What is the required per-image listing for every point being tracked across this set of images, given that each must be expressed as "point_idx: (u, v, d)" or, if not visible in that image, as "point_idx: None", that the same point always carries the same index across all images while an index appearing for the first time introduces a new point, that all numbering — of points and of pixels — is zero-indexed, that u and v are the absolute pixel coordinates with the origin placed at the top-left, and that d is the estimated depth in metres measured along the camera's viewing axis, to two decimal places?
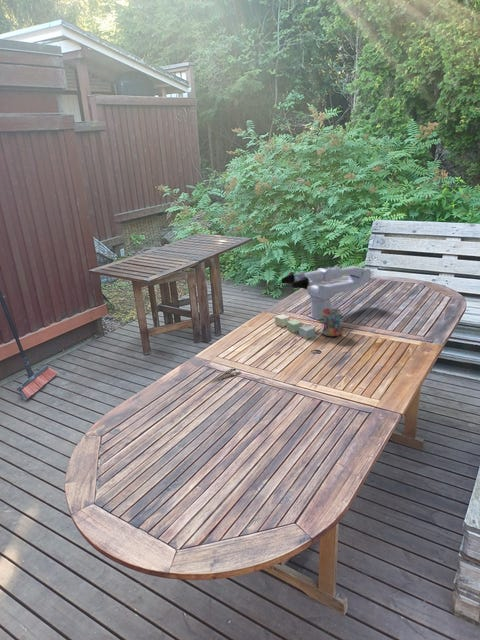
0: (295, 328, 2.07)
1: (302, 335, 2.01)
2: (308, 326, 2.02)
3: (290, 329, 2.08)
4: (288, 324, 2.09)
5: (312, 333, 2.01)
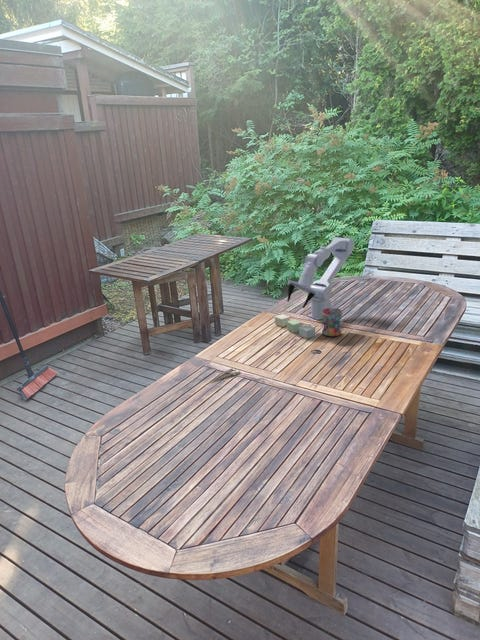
0: (295, 328, 2.07)
1: (302, 335, 2.01)
2: (308, 326, 2.02)
3: (290, 329, 2.08)
4: (288, 324, 2.09)
5: (312, 333, 2.01)
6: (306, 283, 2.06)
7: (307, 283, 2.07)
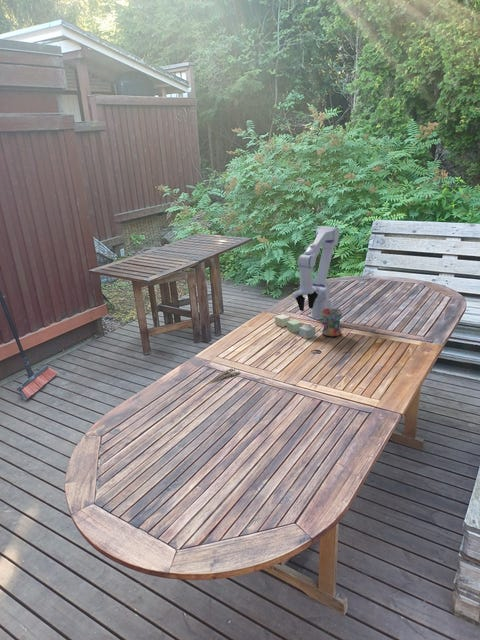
0: (295, 328, 2.07)
1: (302, 335, 2.01)
2: (308, 326, 2.02)
3: (290, 329, 2.08)
4: (288, 324, 2.09)
5: (312, 333, 2.01)
6: (311, 289, 2.05)
7: (311, 288, 2.05)
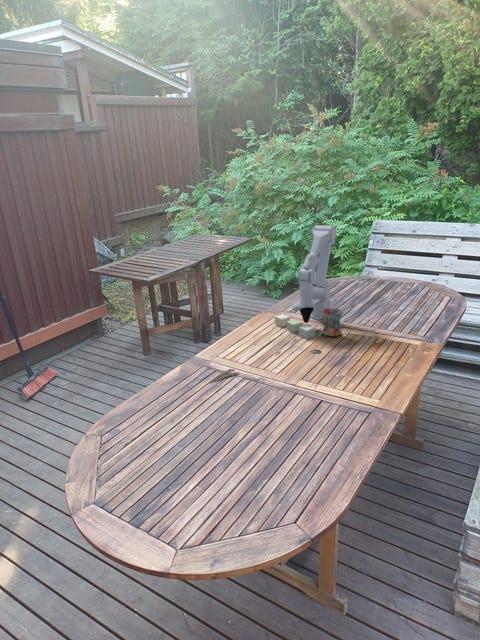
0: (295, 328, 2.07)
1: (302, 335, 2.01)
2: (308, 326, 2.02)
3: (290, 329, 2.08)
4: (288, 324, 2.09)
5: (312, 333, 2.01)
6: (311, 302, 2.07)
7: (311, 301, 2.07)
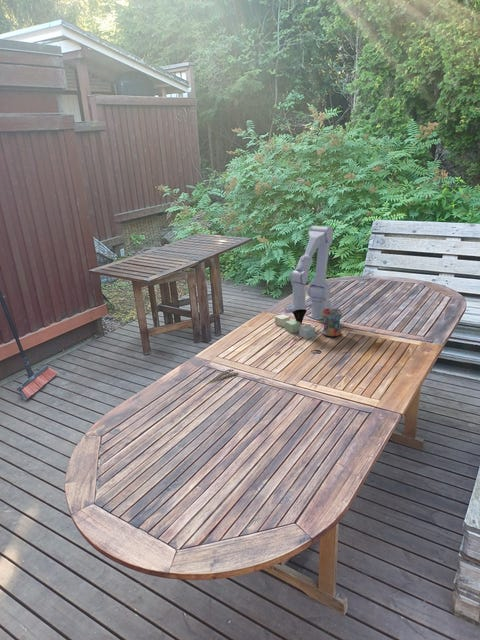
0: (293, 328, 2.06)
1: (302, 335, 2.01)
2: (308, 326, 2.02)
3: (289, 329, 2.07)
4: (286, 324, 2.08)
5: (312, 333, 2.01)
6: (304, 304, 2.05)
7: (304, 303, 2.05)
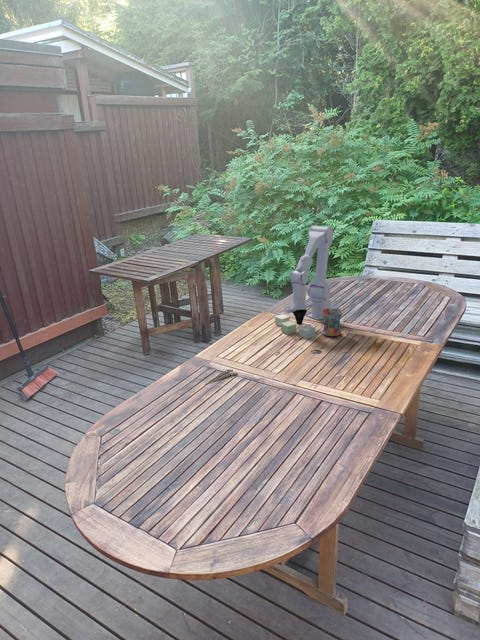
0: (289, 330, 2.05)
1: (302, 335, 2.01)
2: (308, 326, 2.02)
3: (285, 331, 2.06)
4: (282, 326, 2.07)
5: (312, 333, 2.01)
6: (304, 304, 2.05)
7: (304, 303, 2.05)
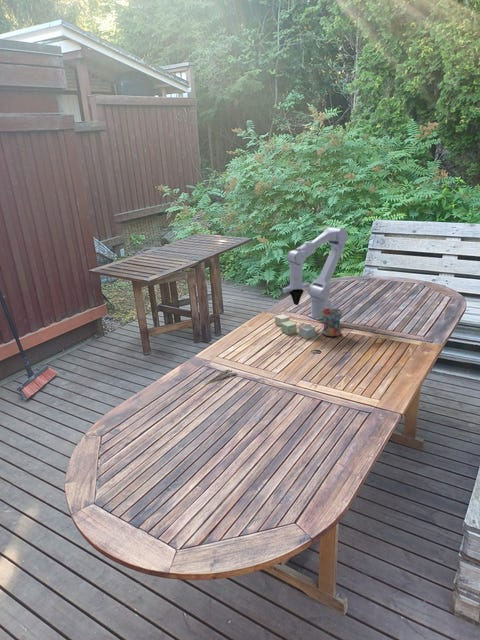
0: (289, 330, 2.05)
1: (302, 335, 2.01)
2: (307, 326, 2.03)
3: (285, 331, 2.06)
4: (282, 326, 2.07)
5: (312, 333, 2.01)
6: (301, 284, 2.09)
7: (301, 283, 2.09)
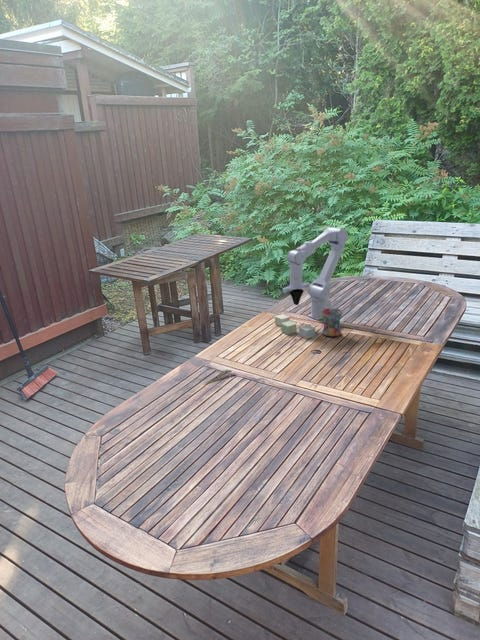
0: (289, 330, 2.05)
1: (302, 335, 2.01)
2: (307, 326, 2.03)
3: (285, 331, 2.06)
4: (282, 326, 2.07)
5: (312, 333, 2.01)
6: (301, 284, 2.09)
7: (301, 283, 2.09)
